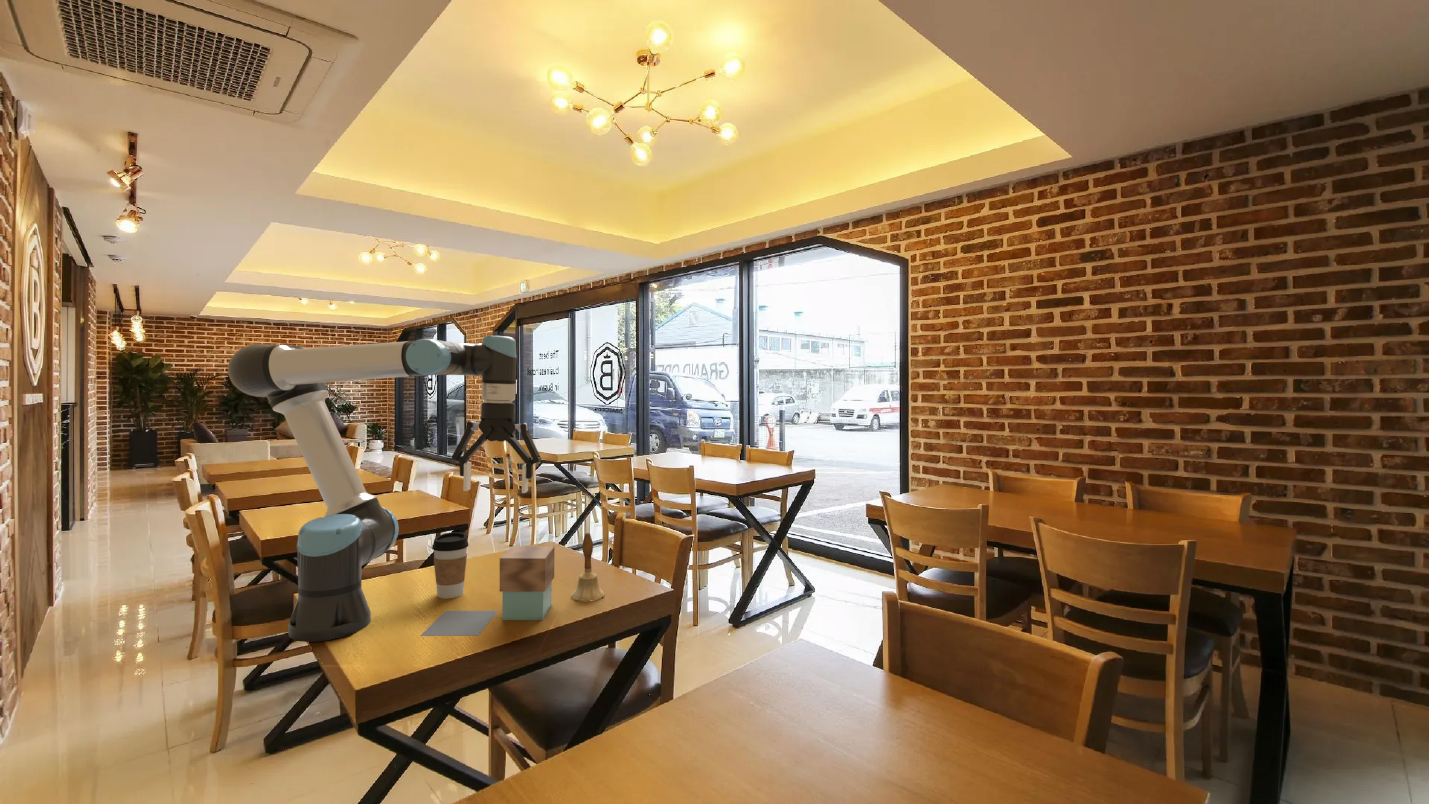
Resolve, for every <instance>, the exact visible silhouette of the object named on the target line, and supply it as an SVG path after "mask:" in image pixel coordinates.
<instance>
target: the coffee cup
mask: <svg viewBox="0 0 1429 804" xmlns="http://www.w3.org/2000/svg"><path fill="white" fill-rule="evenodd" d="M467 537H468V535H467V534H466V533H465V532H460V531H457V532H454V531H453V532H447V533H443V534H439V535H437V536H436V537H435V538H434V539H433V543H432V544H431V545H432V546H431V549H432V550H433V555H434V556H433V565H434V575H435V584H436V595H437V597H438V598H440V599H443V600H444V599H446V600H447V599H454V598H458V597H461V596H462V595H463V594H464V587H465V578H466V569H467V560H468V554H467V549H468V547H469V546H470V545H469V541H468V538H467Z"/></svg>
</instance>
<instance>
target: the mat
mask: <svg viewBox="0 0 1429 804" xmlns="http://www.w3.org/2000/svg"><path fill="white" fill-rule="evenodd" d="M498 612H499V610H445V611H443V613H442V614H441V615H440V616H439V617H438V618H437V619H436V620H434V622H432V624H430V626H428V628H427V629H426V630H424V631H423V632H422V633H421V634H420V635H419V636H423V637H426V636H427V637H429V636H430V637H432V636H433V637H435V636H436V637H437V636H438V637H439V636H440V637H442V636H444V637H447V636H448V637H450V636H452V637H454V636H455V637H457V636H459V637H460V636H465V637H471V636H472V637H474V636H478V637H479V636H480V635H481V633H482V632H483V631H484V630H485V629H486V627H487V626H488V625H489V623H490V622H491V621H492V619H494V617H495V616H496V615H497V613H498Z"/></svg>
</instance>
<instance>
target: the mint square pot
mask: <svg viewBox="0 0 1429 804" xmlns="http://www.w3.org/2000/svg"><path fill="white" fill-rule="evenodd" d="M552 584H553V581H552V582H551V583H550V585H549V586H548V588H547V589H546V591H545V592H502V608H501V609H502V610H501V611H502V613H501V614H502V617H501V618H502V621H543V620H544V619H545V617H546V615H547V614H548V612H549V611H550V609H551V608H552V603H553V601H552V599H553V597H552V596H553V595H552V592H553V591H552V590H553V589H552V587H553V585H552Z"/></svg>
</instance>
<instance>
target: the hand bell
mask: <svg viewBox="0 0 1429 804" xmlns="http://www.w3.org/2000/svg"><path fill="white" fill-rule="evenodd" d="M593 548H594V542H593V539H592V536H591V533H590V532H586V533H584V537H583V541H582V553H583V557H584V572H582V573H580V574H579V575H578V581H577V582H578V583H577V586H576V589H575V590H574V591H573V592H572V593H571V595H570V598H571V597H572V598H571V599H572V600H573V601H575V600H578V601H577V602H580V601H590V600H597V599H600V598H602V597H603V598H604V597H605V596H604V594H605V592H604V591H603V590H602V589H601V587H600V585H599V580H598V574H596V572H593V571H592V555H593V550H594V549H593ZM603 598H602V599H603ZM600 600H601V599H600ZM597 601H598V600H597Z"/></svg>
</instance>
